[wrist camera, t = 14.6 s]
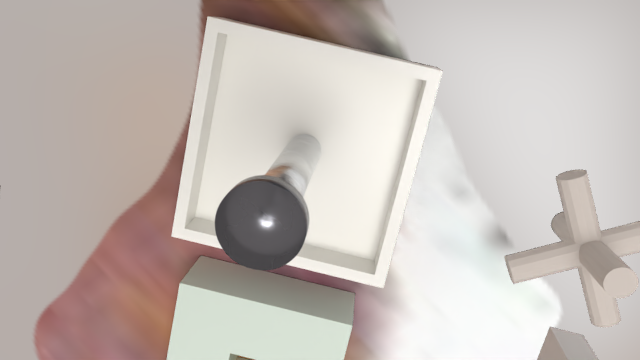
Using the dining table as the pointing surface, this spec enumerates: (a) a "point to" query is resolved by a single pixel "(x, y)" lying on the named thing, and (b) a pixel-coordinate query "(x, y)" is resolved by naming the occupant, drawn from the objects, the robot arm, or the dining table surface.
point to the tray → (314, 119)
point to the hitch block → (257, 316)
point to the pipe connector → (584, 251)
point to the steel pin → (270, 209)
